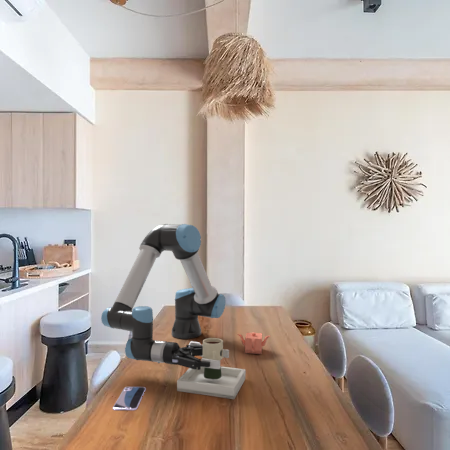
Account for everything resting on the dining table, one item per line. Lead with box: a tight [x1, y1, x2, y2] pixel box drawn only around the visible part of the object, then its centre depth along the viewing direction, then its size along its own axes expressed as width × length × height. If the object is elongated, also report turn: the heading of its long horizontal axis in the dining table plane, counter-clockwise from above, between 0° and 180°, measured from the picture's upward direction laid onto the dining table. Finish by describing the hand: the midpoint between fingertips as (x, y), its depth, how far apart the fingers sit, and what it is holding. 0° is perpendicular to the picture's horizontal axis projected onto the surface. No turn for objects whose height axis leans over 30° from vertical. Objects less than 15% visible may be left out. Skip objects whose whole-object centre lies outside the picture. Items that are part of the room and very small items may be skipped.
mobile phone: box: [112, 386, 147, 411], centre depth 117 cm, size 8×1×15 cm
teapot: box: [236, 331, 271, 355], centre depth 161 cm, size 12×15×8 cm
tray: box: [176, 365, 247, 400], centre depth 127 cm, size 16×20×4 cm
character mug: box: [202, 337, 224, 379], centre depth 127 cm, size 11×7×13 cm, turn 8°
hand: (224, 359), depth 126 cm, fingers closed on character mug, 10 cm apart
